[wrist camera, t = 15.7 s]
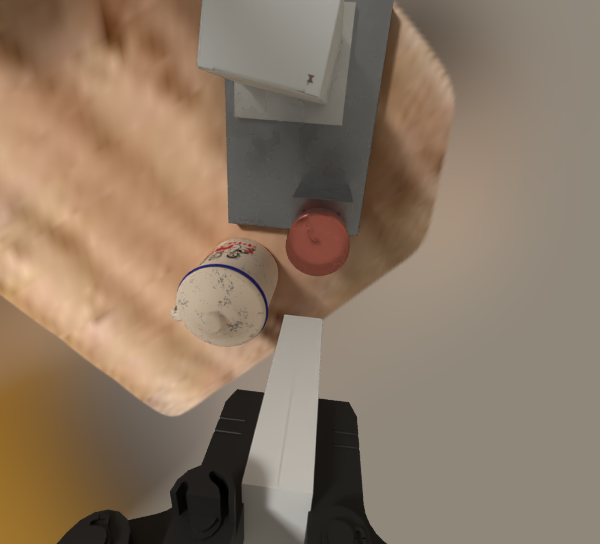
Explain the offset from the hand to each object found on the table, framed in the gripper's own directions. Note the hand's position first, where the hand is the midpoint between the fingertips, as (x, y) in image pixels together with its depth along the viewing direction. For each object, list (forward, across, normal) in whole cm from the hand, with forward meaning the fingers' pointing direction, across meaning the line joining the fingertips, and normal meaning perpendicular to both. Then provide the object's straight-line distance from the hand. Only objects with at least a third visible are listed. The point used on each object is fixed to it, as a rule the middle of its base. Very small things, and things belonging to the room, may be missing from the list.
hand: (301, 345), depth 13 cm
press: (+24, -3, +7) cm, 26 cm away
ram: (+22, 0, 0) cm, 22 cm away
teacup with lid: (+25, -10, -10) cm, 28 cm away
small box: (+22, -4, +13) cm, 26 cm away
